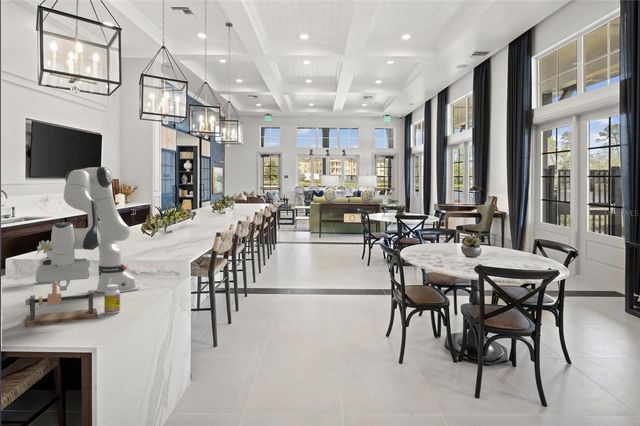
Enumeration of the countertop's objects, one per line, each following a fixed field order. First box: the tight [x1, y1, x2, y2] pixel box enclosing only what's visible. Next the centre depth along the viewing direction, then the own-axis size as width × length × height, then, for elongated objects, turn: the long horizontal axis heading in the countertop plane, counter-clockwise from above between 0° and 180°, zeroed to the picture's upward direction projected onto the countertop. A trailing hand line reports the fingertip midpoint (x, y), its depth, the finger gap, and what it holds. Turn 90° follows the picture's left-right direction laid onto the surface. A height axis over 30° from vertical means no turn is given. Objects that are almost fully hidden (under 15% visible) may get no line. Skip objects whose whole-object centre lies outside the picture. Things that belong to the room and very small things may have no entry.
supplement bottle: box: [103, 284, 121, 315], centre depth 199 cm, size 7×7×13 cm
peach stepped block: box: [47, 281, 62, 306], centre depth 186 cm, size 5×4×9 cm
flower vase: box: [36, 239, 57, 284], centre depth 253 cm, size 13×18×25 cm
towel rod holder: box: [24, 289, 99, 327], centre depth 188 cm, size 27×11×11 cm, turn 121°
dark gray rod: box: [25, 294, 89, 307], centre depth 187 cm, size 24×4×4 cm, turn 121°
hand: (63, 290), depth 188 cm, fingers closed
